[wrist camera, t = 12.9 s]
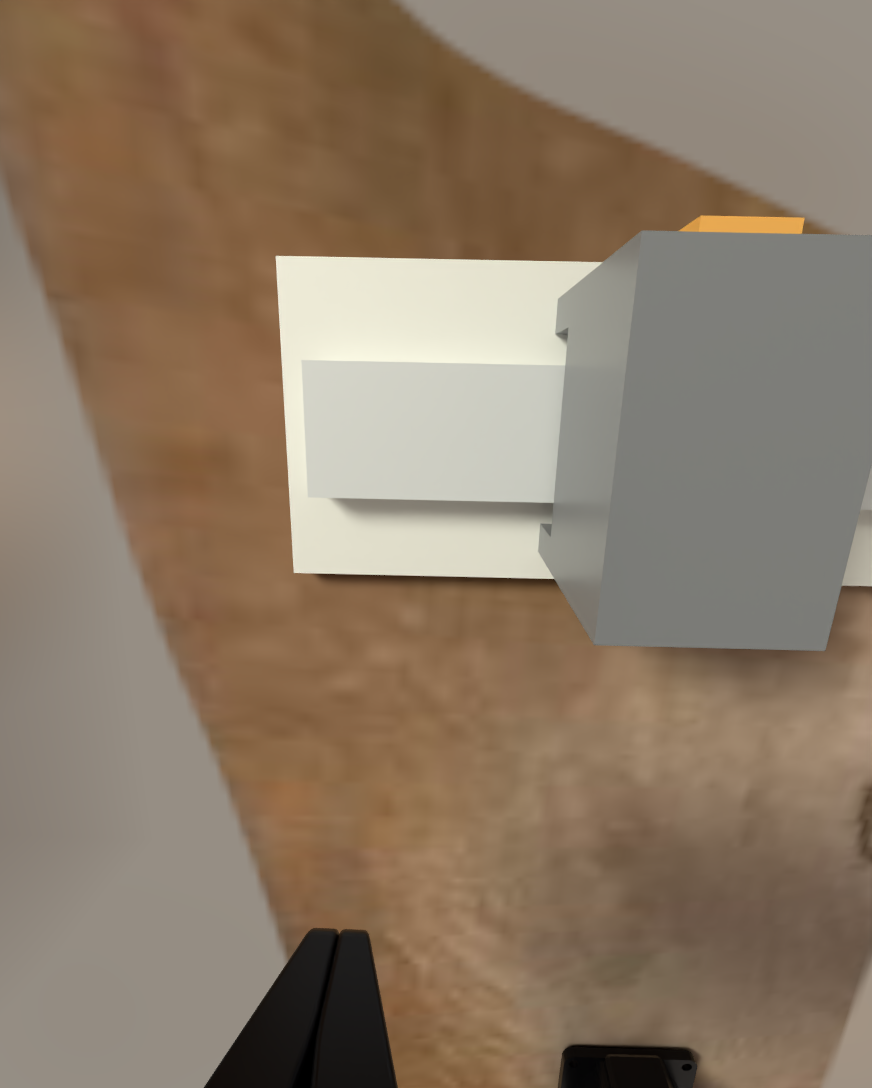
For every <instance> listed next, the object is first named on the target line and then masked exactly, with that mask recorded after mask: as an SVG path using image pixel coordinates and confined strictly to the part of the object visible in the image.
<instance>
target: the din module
mask: <svg viewBox="0 0 872 1088" xmlns="http://www.w3.org/2000/svg"><path fill="white" fill-rule="evenodd" d="M803 223H804V218H789V217H741V216H700V217H698V218H697V219H695V220H694V221H692V222H691V223H690V224H688V225H687V226H685V227H684V228H682V229H681V230H679V231H641V232H640V233H638V234H637V235H636V236H635V237H633V238H632V239H631V240H630V241H629V242H627V243H626V244H625V245H624V246H622V247H621V248H620V249H619V250H617V251H616V252H615V253H614V254H613V255H611V256H610V257H609V258H608V259H606V260H605V261H604V262H603V263H601V264H600V265H599V266H598V267H597V268H595V269H594V270H593V271H592V272H590V273H589V274H588V275H587V276H585V277H584V278H583V279H582V280H581V281H579V282H578V283H577V284H576V285H574V286H573V287H572V288H571V289H569V290H568V291H567V292H566V293H564V294H563V295H562V296H561V297H560V298H558V304H557V316H556V329H555V334H567V335H568V339H567V351H566V363H565V375H564V386H563V398H562V410H561V422H560V434H559V445H558V457H557V469H556V481H555V492H554V504H553V516H552V524H542V523H540V533H539V545H538V552H539V554H540V556H541V557H542V559H543V561H544V562H545V564H546V566H547V567H548V569H549V571H550V572H551V574H552V576H553V577H554V579H555V581H556V582H557V584H558V586H559V587H560V589H561V591H562V592H563V594H564V596H565V597H566V599H567V601H568V602H569V604H570V606H571V607H572V609H573V611H574V612H575V614H576V616H577V617H578V619H579V621H580V622H581V624H582V626H583V627H584V629H585V631H586V632H587V634H588V636H589V637H590V639H591V641H592V642H593V644H594V645H609V646H649V647H689V648H729V649H768V650H808V651H825V650H826V646H827V642H828V638H829V634H830V630H831V626H832V622H833V618H834V614H835V610H836V606H837V602H838V598H839V594H840V590H841V586H842V582H843V578H844V574H845V570H846V566H847V562H848V558H849V554H850V550H851V546H852V542H853V538H854V534H855V530H856V526H857V522H858V518H859V514H860V510H861V506H862V502H863V498H864V494H865V490H866V486H867V482H868V478H869V474H870V470H871V466H872V236H871V235H829V234H802V229H803Z"/></svg>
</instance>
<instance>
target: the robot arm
mask: <svg viewBox="0 0 872 1088" xmlns="http://www.w3.org/2000/svg"><path fill="white" fill-rule="evenodd" d="M696 1070H697V1064H696V1061H695V1059H694V1056H693V1054H692V1053H691V1052H689V1051H685V1050H652V1049H617V1048H581V1047H571V1048H567V1049H565V1050H564V1051H563V1053H562V1059H561V1067H560V1075H559V1083H558V1088H693V1083H694V1079H695V1074H696ZM204 1088H398V1086H397V1081H396V1076H395V1070H394V1065H393V1060H392V1054H391V1049H390V1044H389V1038H388V1033H387V1027H386V1022H385V1017H384V1011H383V1006H382V1001H381V995H380V990H379V985H378V979H377V974H376V969H375V963H374V958H373V952H372V947H371V942H370V937H369V934H368V932H367V931H366V930H353V929H344V930H342V931H341V932H340V934H339V932H338V930H337V929H329V928H313V929H311V930H310V931H309V932H308V933H307V934H306V935H305V937H304V938H303V940H302V941H301V943H300V944H299V946H298V947H297V949H296V950H295V952H294V953H293V955H292V956H291V958H290V959H289V961H288V962H287V964H286V965H285V967H284V968H283V970H282V971H281V973H280V974H279V976H278V978H277V979H276V980H275V982H274V983H273V985H272V986H271V988H270V989H269V991H268V992H267V994H266V995H265V997H264V998H263V1000H262V1001H261V1003H260V1004H259V1006H258V1007H257V1009H256V1010H255V1012H254V1013H253V1015H252V1016H251V1018H250V1019H249V1021H248V1022H247V1024H246V1025H245V1027H244V1028H243V1030H242V1031H241V1033H240V1034H239V1036H238V1037H237V1039H236V1040H235V1042H234V1043H233V1045H232V1046H231V1048H230V1049H229V1051H228V1052H227V1054H226V1055H225V1057H224V1058H223V1060H222V1061H221V1063H220V1064H219V1066H218V1067H217V1069H216V1070H215V1072H214V1073H213V1075H212V1076H211V1078H210V1079H209V1081H208V1082H207V1084H206V1085H205V1087H204Z"/></svg>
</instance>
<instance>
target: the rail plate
mask: <svg viewBox="0 0 872 1088" xmlns="http://www.w3.org/2000/svg"><path fill="white" fill-rule="evenodd" d="M601 263H603V262H557V261H506V260H456V259H405V258H354V257H303V256H276V268H277V285H278V303H279V320H280V338H281V355H282V373H283V390H284V408H285V425H286V443H287V460H288V478H289V495H290V513H291V530H292V547H293V565H294V573H321V574H365V575H408V576H451V577H494V578H537V579H554V577H553V576H552V574H551V572H550V571H549V569H548V567H547V566H546V564H545V562H544V561H543V559H542V557H541V556H540V554H539V552H538V545H539V533H540V523H542V524H552V516H553V504H554V492H555V481H556V469H557V457H558V445H559V434H560V422H561V410H562V398H563V386H564V375H565V363H566V351H567V339H568V335H567V334H555V329H556V316H557V304H558V298H560V297H561V296H562V295H563V294H564V293H566V292H567V291H568V290H569V289H571V288H572V287H573V286H574V285H576V284H577V283H578V282H579V281H581V280H582V279H583V278H584V277H585V276H587V275H588V274H589V273H590V272H592V271H593V270H594V269H595V268H597V267H598V266H599V265H600V264H601ZM842 586H872V466H871V470H870V474H869V478H868V482H867V486H866V490H865V494H864V498H863V502H862V506H861V510H860V514H859V518H858V522H857V526H856V530H855V534H854V538H853V542H852V546H851V550H850V554H849V558H848V562H847V566H846V570H845V574H844V578H843V582H842Z"/></svg>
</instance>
